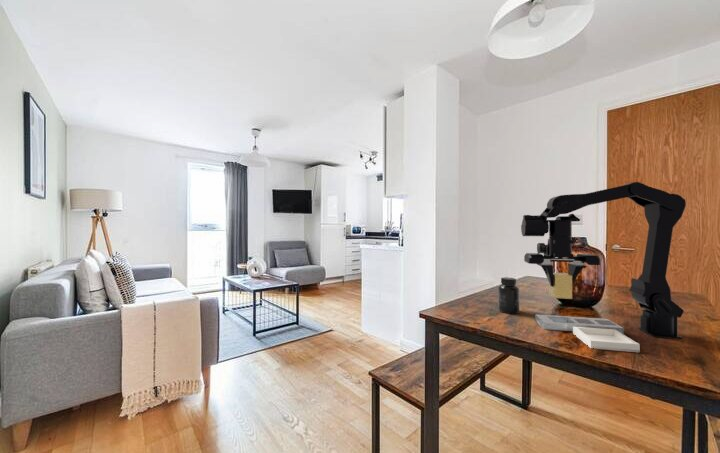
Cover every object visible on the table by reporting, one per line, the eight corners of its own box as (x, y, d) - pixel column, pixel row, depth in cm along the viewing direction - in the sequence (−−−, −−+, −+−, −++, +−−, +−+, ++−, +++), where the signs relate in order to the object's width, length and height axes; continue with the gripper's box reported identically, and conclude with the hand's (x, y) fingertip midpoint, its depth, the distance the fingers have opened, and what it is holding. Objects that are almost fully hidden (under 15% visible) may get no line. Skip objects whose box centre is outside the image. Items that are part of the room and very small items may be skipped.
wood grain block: (565, 295, 91) (565, 273, 91) (572, 298, 86) (572, 275, 86) (549, 294, 92) (549, 272, 92) (555, 298, 88) (554, 275, 87)
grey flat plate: (607, 325, 89) (607, 318, 89) (623, 335, 82) (623, 327, 82) (535, 320, 95) (535, 314, 95) (543, 329, 87) (543, 322, 87)
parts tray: (615, 336, 81) (615, 329, 81) (639, 352, 71) (639, 344, 71) (573, 333, 83) (572, 326, 83) (590, 348, 73) (590, 340, 73)
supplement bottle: (522, 314, 101) (521, 280, 101) (501, 313, 102) (500, 280, 102) (515, 308, 108) (515, 276, 107) (496, 308, 109) (495, 276, 109)
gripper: (582, 235, 94) (583, 282, 94) (519, 235, 99) (519, 280, 99) (601, 236, 83) (601, 290, 84) (529, 236, 88) (529, 287, 89)
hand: (560, 286), depth 89 cm, fingers closed on wood grain block, 4 cm apart
